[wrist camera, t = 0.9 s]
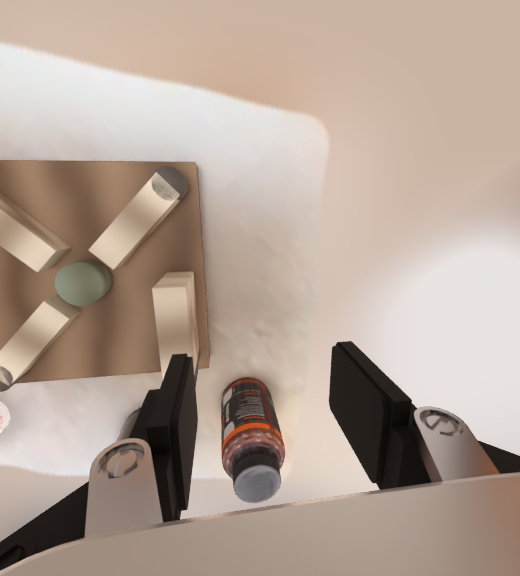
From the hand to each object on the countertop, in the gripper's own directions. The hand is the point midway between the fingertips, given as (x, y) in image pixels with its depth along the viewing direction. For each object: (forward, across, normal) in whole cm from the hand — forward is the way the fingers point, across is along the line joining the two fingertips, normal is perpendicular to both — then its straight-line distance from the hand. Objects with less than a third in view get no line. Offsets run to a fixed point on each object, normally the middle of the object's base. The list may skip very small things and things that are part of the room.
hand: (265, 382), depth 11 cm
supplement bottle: (+20, 0, +15) cm, 25 cm away
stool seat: (+20, +14, -1) cm, 24 cm away
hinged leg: (+17, +5, +3) cm, 18 cm away
